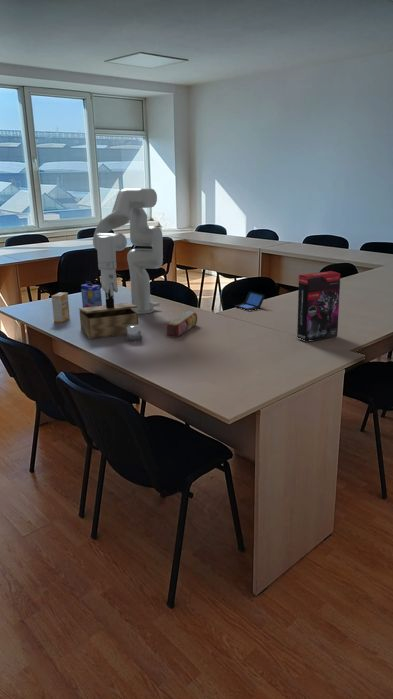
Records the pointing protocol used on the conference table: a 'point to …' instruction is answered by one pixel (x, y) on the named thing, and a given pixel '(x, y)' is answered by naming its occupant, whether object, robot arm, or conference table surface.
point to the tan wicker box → (107, 322)
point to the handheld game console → (252, 301)
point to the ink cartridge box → (91, 295)
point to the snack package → (181, 324)
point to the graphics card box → (318, 305)
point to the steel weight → (133, 332)
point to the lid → (103, 308)
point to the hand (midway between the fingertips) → (110, 307)
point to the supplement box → (60, 307)
